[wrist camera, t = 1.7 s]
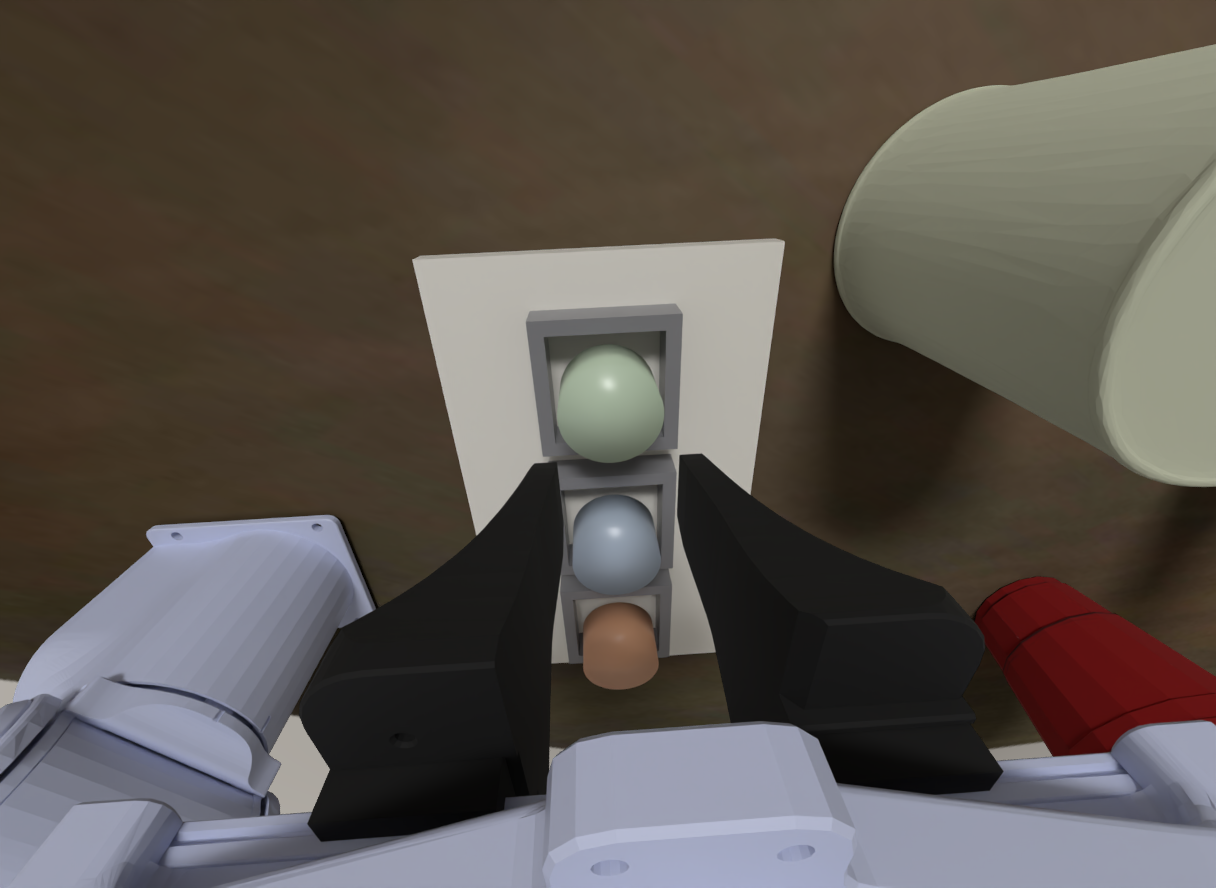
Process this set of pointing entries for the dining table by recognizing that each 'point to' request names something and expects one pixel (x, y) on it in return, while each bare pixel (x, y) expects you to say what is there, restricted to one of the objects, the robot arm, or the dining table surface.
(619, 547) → the slate button
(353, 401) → the dining table surface
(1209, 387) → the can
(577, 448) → the sage button
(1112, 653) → the plastic cup
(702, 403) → the console
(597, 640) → the peach button
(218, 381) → the dining table surface
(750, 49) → the dining table surface
